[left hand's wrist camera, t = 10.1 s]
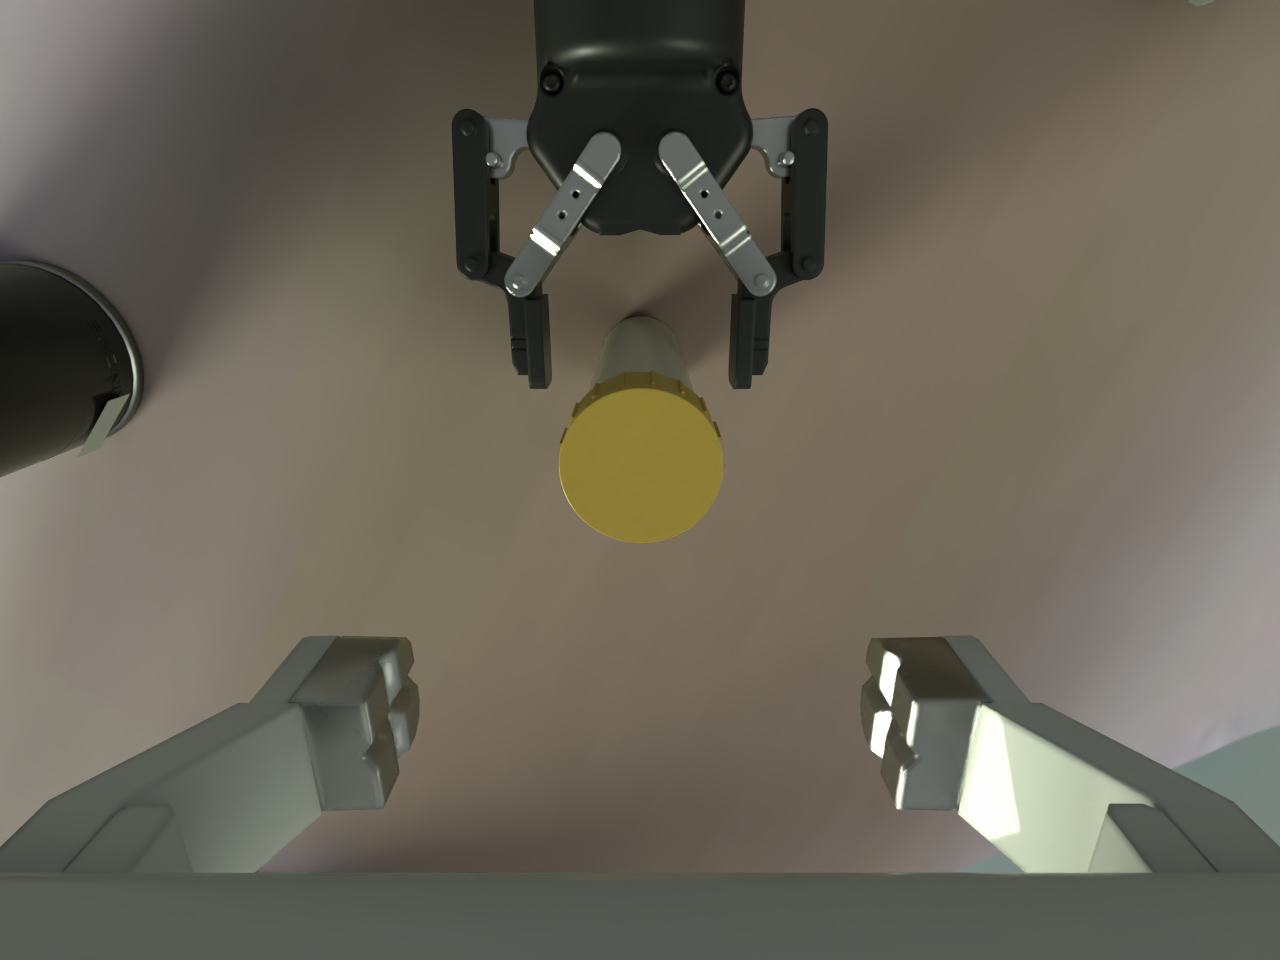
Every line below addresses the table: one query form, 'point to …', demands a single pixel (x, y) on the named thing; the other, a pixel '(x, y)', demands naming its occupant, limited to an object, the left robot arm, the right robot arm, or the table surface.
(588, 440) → the lid
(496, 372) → the table surface
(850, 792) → the table surface
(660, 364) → the pale cream cylinder
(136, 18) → the table surface
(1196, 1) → the spray gun
